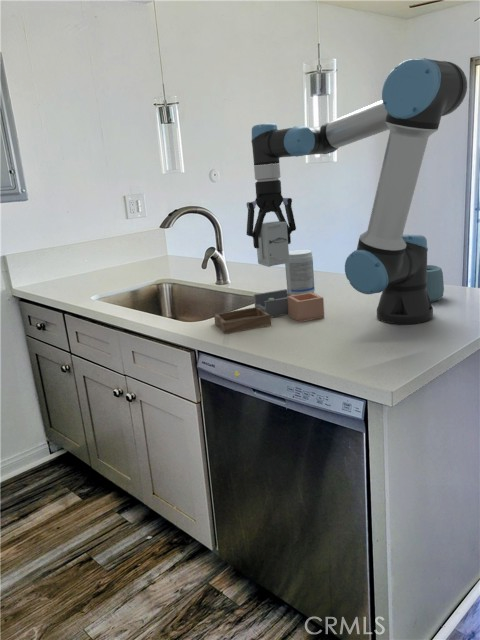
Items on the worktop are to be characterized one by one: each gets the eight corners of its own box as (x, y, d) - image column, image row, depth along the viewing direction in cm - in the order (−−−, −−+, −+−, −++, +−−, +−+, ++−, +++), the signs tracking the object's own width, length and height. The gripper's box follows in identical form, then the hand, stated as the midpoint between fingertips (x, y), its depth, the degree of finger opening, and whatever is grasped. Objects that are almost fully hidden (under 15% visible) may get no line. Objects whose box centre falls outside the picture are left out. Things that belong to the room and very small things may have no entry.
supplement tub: (320, 292, 182) (318, 250, 178) (299, 298, 177) (296, 255, 173) (302, 288, 190) (300, 248, 186) (281, 294, 185) (278, 252, 181)
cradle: (300, 312, 161) (299, 294, 160) (267, 318, 158) (265, 300, 157) (286, 303, 172) (285, 287, 170) (255, 309, 169) (253, 292, 167)
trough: (271, 325, 151) (270, 315, 150) (224, 333, 147) (223, 323, 146) (259, 316, 161) (258, 306, 160) (215, 323, 157) (214, 314, 157)
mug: (398, 293, 172) (398, 263, 169) (433, 290, 171) (433, 260, 168) (411, 305, 158) (411, 272, 155) (449, 302, 157) (449, 269, 154)
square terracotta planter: (324, 317, 154) (323, 297, 152) (299, 321, 152) (297, 301, 150) (312, 311, 161) (311, 292, 159) (288, 315, 159) (287, 296, 157)
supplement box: (268, 267, 156) (265, 224, 153) (257, 264, 163) (254, 223, 159) (290, 263, 159) (287, 221, 156) (278, 260, 166) (275, 220, 162)
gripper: (295, 176, 160) (299, 250, 166) (230, 183, 155) (237, 259, 161) (305, 176, 153) (309, 253, 160) (238, 183, 148) (245, 263, 154)
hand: (273, 256), depth 160 cm, fingers closed on supplement box, 8 cm apart
